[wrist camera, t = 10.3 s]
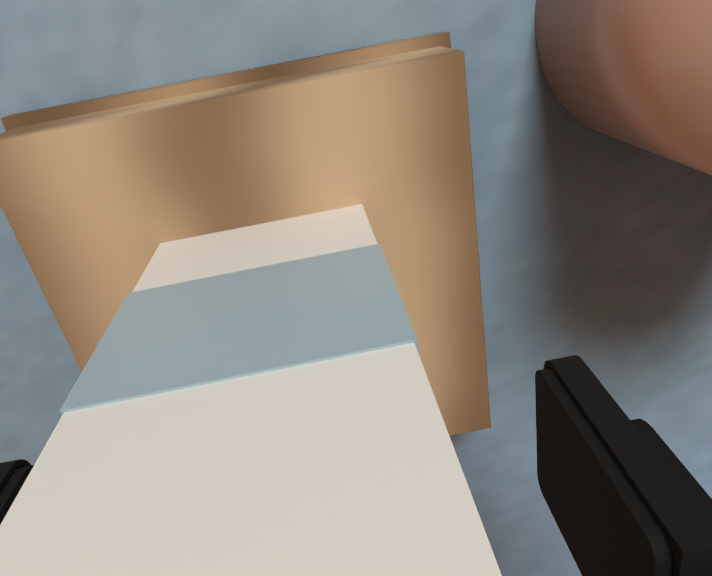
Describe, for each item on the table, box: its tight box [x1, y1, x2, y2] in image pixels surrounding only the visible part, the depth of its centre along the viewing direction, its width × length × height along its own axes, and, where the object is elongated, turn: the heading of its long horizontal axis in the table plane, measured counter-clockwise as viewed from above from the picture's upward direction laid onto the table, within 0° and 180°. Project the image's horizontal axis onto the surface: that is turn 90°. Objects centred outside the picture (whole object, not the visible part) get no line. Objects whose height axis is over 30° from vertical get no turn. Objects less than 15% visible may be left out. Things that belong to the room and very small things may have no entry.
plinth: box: [0, 32, 491, 436], centre depth 17 cm, size 13×13×3 cm
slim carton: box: [0, 204, 502, 576], centre depth 10 cm, size 6×6×13 cm
